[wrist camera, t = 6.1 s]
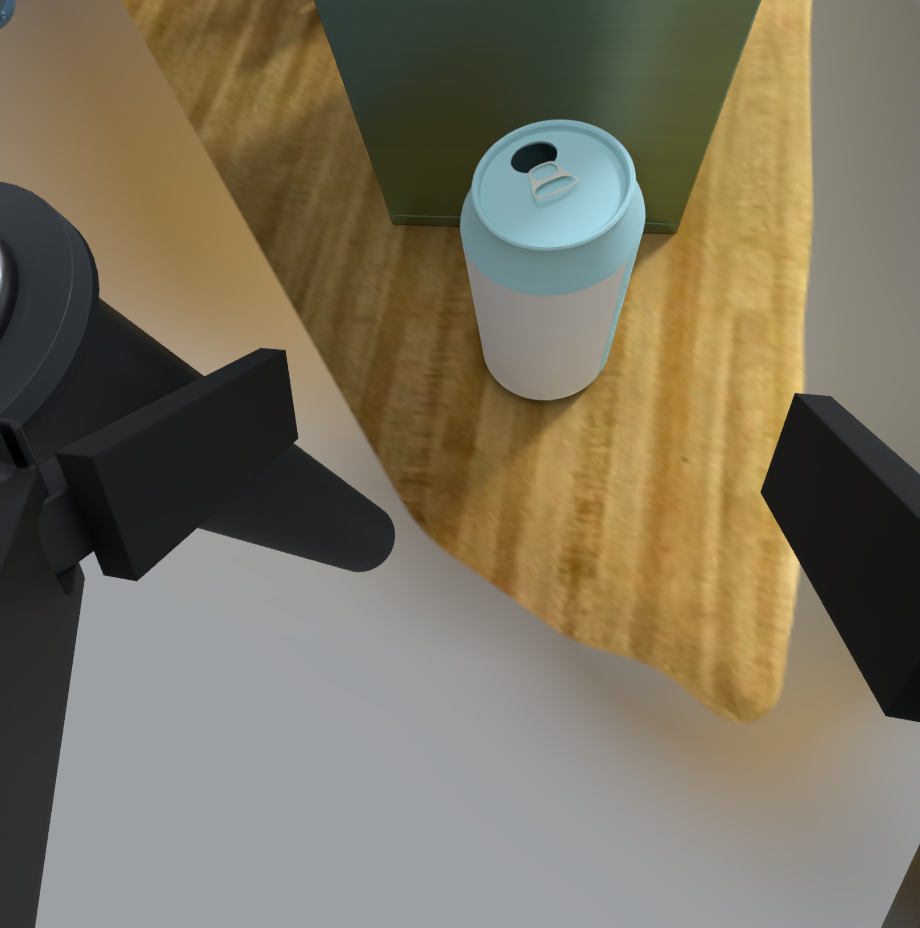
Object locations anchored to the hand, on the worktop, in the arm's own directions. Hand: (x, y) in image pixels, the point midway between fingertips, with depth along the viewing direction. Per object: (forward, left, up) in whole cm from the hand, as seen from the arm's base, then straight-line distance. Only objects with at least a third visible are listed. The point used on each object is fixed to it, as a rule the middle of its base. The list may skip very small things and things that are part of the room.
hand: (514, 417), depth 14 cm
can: (0, +10, -14) cm, 17 cm away
